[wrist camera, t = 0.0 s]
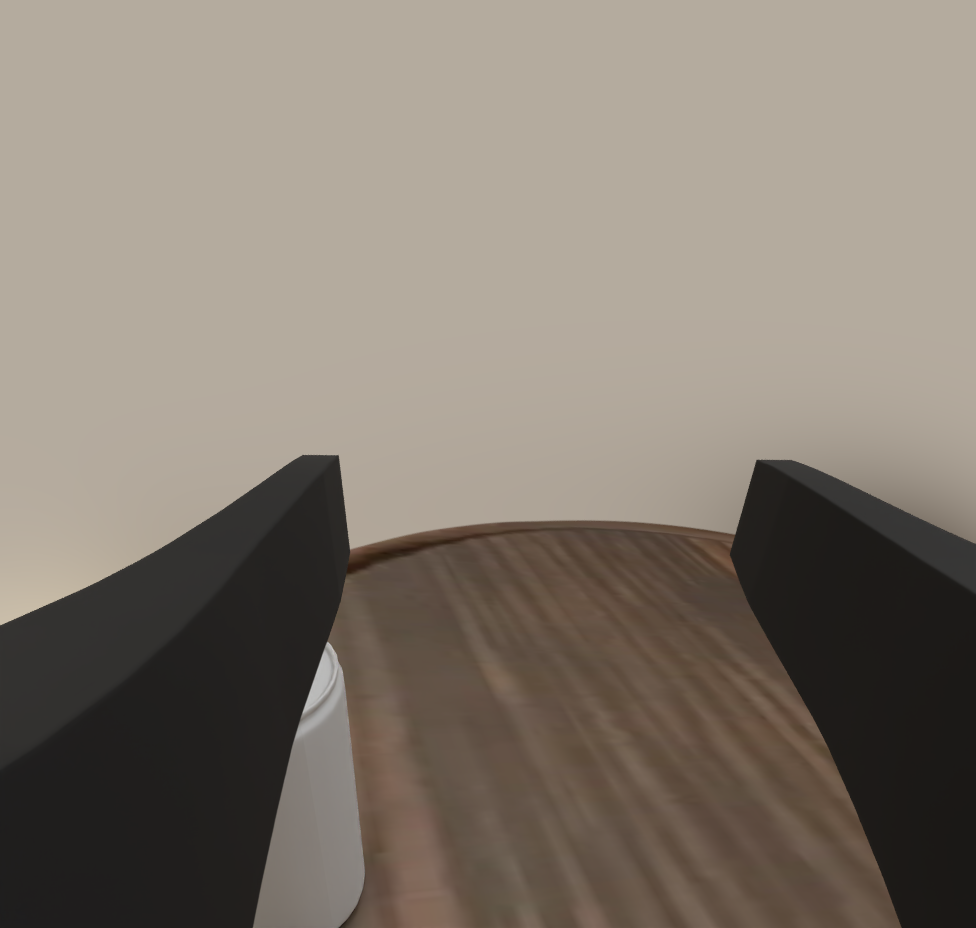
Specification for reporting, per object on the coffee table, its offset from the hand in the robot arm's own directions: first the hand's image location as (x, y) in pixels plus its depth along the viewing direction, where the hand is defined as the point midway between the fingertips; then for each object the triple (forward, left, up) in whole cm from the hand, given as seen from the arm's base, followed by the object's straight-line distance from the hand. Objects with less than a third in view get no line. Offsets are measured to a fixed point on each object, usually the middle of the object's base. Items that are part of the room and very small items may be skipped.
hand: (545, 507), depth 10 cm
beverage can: (+6, +8, -22) cm, 24 cm away
